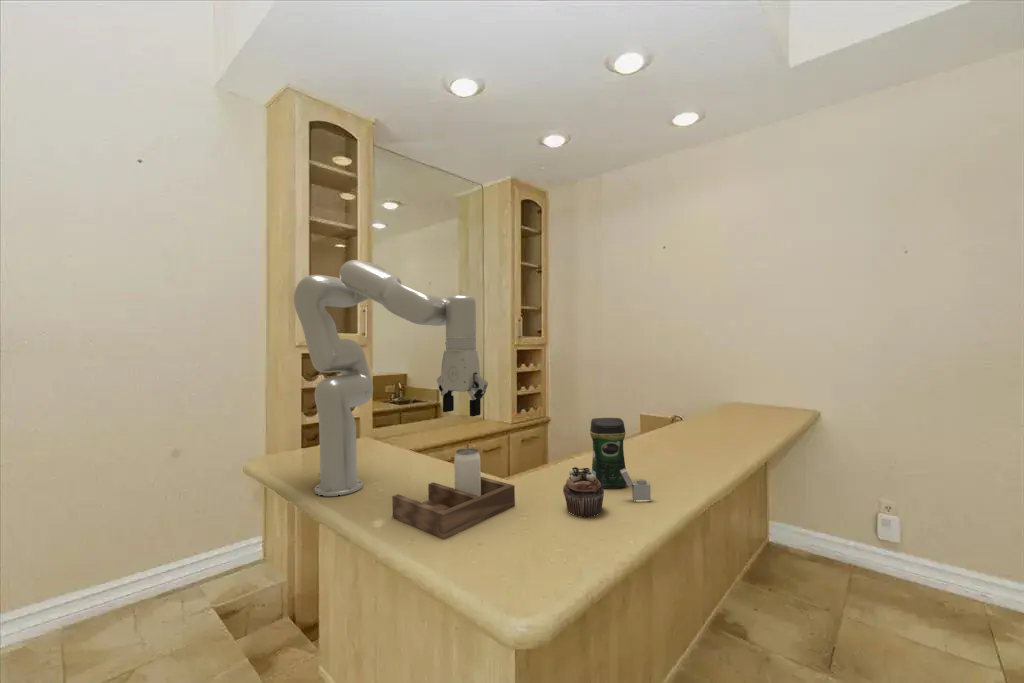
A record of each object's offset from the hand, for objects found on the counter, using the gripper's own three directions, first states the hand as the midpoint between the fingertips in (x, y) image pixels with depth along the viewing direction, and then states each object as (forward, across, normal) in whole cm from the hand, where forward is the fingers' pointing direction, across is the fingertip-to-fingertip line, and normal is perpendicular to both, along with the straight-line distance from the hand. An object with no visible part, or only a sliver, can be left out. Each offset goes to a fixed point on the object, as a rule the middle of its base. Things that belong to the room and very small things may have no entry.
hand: (461, 413), depth 109 cm
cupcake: (+22, +27, +14) cm, 38 cm away
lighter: (+22, +34, +27) cm, 49 cm away
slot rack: (+23, +3, -5) cm, 23 cm away
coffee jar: (+22, +23, +34) cm, 47 cm away
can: (+22, +2, +1) cm, 22 cm away
